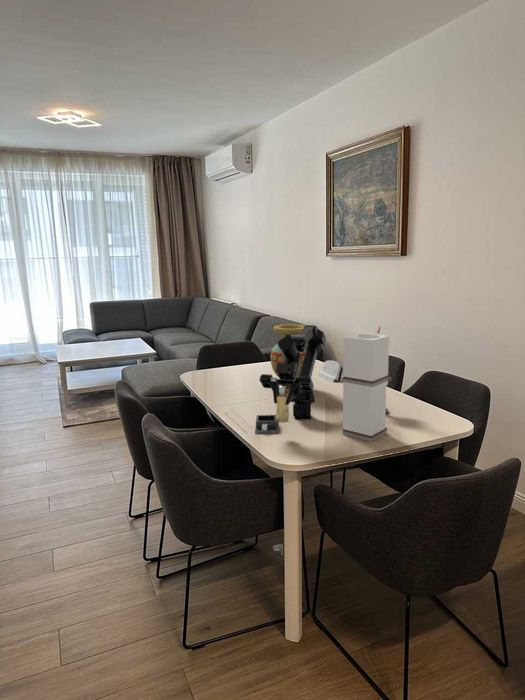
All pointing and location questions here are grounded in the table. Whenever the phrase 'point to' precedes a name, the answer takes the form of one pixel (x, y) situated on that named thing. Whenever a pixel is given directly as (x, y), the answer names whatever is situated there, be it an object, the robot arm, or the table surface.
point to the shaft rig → (266, 424)
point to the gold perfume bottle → (282, 405)
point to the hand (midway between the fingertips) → (281, 403)
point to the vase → (276, 353)
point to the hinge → (332, 371)
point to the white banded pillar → (365, 386)
